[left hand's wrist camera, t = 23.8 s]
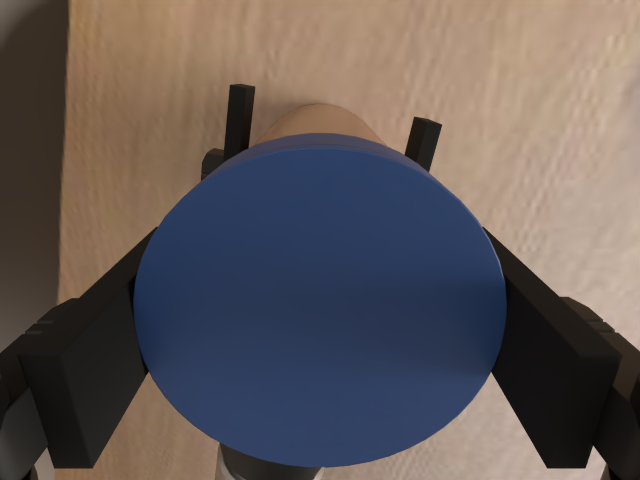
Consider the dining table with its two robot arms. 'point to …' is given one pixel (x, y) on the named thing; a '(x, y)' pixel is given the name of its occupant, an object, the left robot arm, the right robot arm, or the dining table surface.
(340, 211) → the lid
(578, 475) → the dining table surface
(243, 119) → the right robot arm
